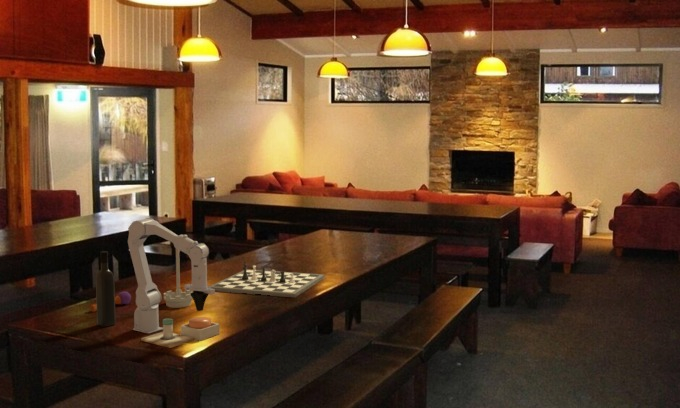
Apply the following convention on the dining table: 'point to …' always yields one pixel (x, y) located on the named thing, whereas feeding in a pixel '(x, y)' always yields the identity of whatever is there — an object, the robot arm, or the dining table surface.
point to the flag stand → (178, 291)
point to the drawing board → (167, 340)
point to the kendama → (116, 300)
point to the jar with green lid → (167, 328)
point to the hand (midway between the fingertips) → (199, 310)
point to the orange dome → (200, 322)
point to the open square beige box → (200, 331)
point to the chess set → (268, 282)
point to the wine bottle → (105, 293)
